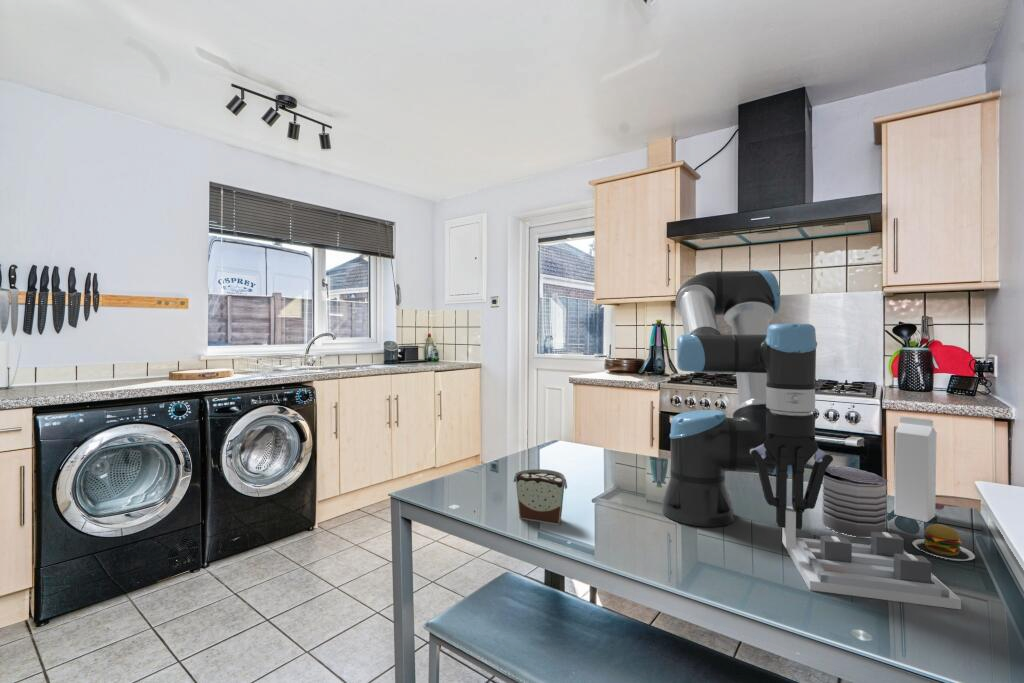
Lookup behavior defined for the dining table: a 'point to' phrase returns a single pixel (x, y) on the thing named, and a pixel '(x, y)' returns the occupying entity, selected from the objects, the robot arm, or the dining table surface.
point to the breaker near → (912, 568)
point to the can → (853, 501)
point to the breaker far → (886, 544)
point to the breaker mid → (835, 549)
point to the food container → (540, 495)
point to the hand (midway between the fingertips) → (788, 545)
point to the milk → (915, 469)
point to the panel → (866, 577)
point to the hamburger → (943, 541)
